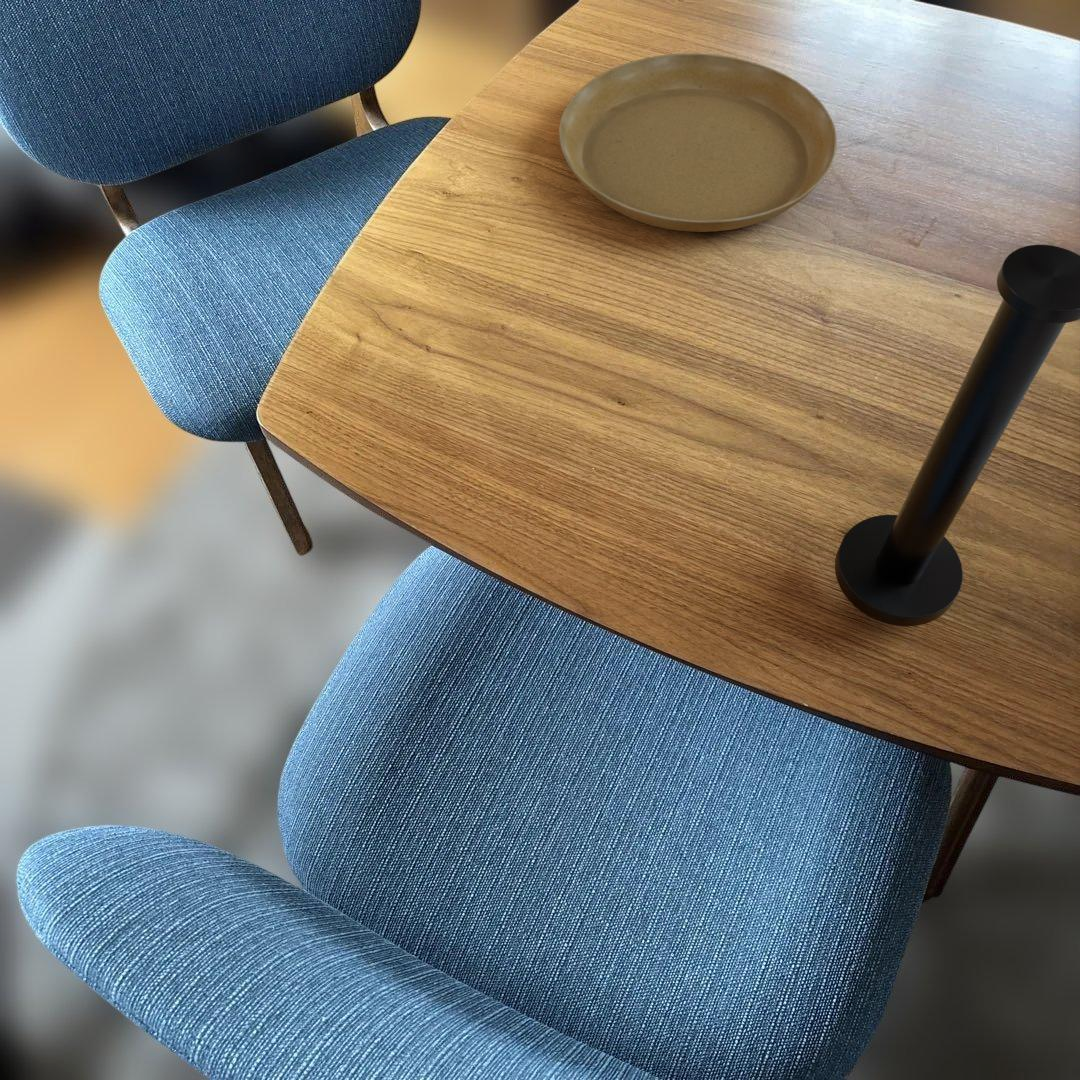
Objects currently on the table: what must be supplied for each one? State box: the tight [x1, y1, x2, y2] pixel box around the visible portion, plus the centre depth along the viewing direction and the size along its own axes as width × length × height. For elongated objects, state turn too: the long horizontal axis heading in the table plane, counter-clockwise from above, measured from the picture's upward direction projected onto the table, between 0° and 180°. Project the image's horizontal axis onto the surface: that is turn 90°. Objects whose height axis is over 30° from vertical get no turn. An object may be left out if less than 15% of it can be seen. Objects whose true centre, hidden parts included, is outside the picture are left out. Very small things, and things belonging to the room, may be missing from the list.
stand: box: [834, 244, 1080, 627], centre depth 58 cm, size 8×8×26 cm
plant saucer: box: [558, 52, 838, 233], centre depth 91 cm, size 24×24×3 cm
